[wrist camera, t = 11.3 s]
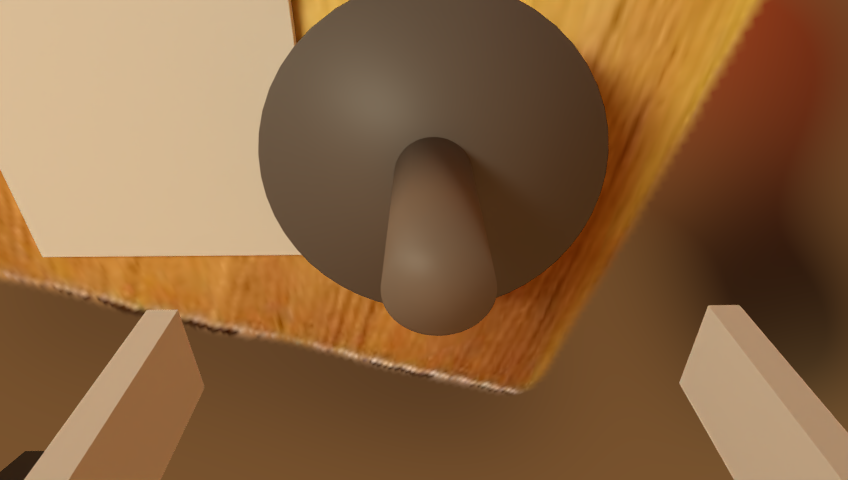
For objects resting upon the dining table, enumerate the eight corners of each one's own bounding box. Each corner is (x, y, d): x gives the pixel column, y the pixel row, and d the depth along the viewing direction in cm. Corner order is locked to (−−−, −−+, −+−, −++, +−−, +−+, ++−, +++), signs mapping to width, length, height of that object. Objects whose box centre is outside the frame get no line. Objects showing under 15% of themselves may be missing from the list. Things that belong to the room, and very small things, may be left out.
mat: (-105, -74, 23) (-117, -74, 23) (280, -77, 23) (277, -77, 23) (48, 252, 33) (42, 257, 32) (323, 249, 33) (322, 254, 32)
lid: (233, -20, 20) (87, 11, 11) (632, -24, 20) (795, 4, 11) (291, 297, 28) (233, 457, 20) (573, 294, 28) (641, 453, 20)
